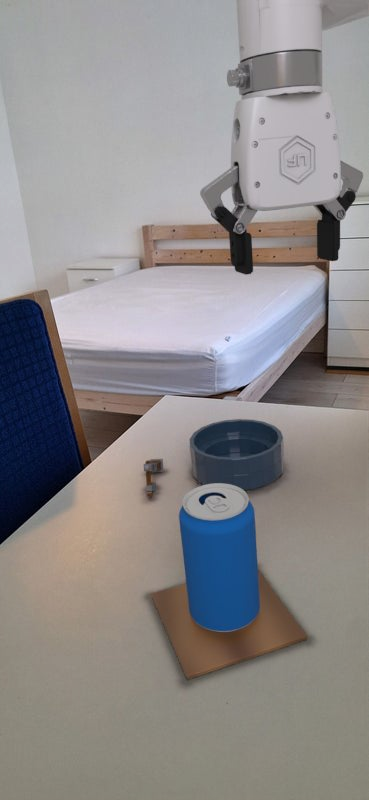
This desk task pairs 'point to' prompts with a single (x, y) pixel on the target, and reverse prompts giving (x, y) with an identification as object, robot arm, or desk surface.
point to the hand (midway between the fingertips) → (286, 265)
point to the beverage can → (220, 556)
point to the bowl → (237, 453)
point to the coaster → (223, 649)
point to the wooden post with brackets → (150, 467)
